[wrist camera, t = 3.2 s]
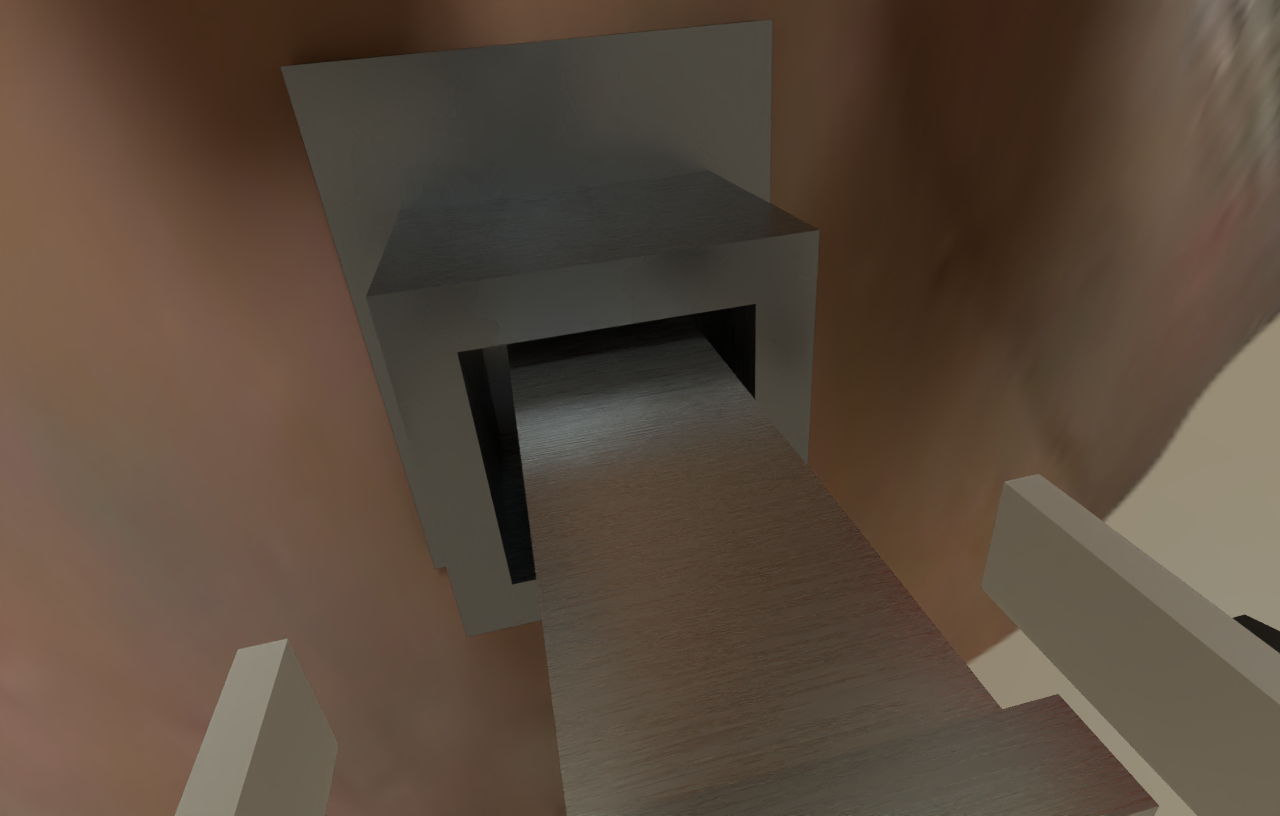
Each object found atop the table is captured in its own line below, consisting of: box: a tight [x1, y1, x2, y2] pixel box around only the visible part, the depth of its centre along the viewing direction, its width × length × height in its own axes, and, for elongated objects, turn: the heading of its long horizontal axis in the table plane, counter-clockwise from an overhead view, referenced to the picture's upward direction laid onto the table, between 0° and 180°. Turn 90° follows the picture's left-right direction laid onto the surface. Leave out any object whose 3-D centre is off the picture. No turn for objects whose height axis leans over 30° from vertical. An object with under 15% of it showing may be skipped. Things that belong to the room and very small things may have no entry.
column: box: [507, 315, 1159, 816], centre depth 15 cm, size 6×6×19 cm
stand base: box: [281, 20, 820, 637], centre depth 20 cm, size 18×14×10 cm
